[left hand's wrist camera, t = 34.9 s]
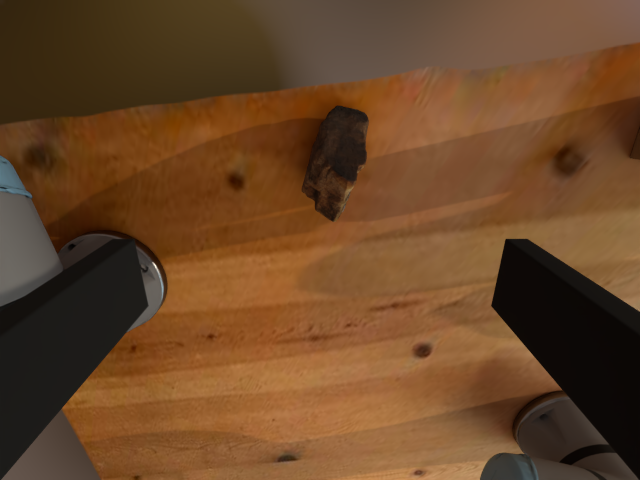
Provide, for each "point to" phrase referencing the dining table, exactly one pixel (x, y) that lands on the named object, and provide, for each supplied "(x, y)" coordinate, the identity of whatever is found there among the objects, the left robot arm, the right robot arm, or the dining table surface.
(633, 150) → the brick
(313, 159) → the decorative rock
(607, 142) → the dining table surface
